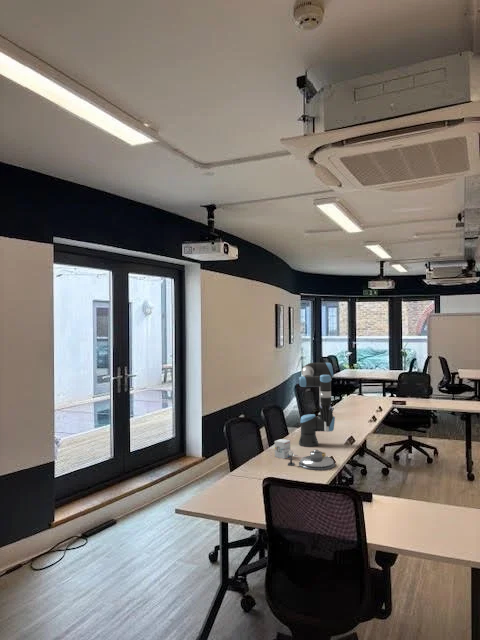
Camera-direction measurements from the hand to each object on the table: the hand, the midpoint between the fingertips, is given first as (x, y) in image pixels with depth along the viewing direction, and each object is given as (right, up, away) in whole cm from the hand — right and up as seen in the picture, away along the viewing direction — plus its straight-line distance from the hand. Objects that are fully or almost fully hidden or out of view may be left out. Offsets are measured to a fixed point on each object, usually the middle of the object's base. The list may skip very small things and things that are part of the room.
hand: (326, 430), depth 330 cm
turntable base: (-9, -20, -11) cm, 25 cm away
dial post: (-25, -21, -10) cm, 34 cm away
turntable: (-8, -19, -9) cm, 23 cm away
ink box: (-30, -21, +11) cm, 38 cm away
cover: (-9, -17, -11) cm, 22 cm away
